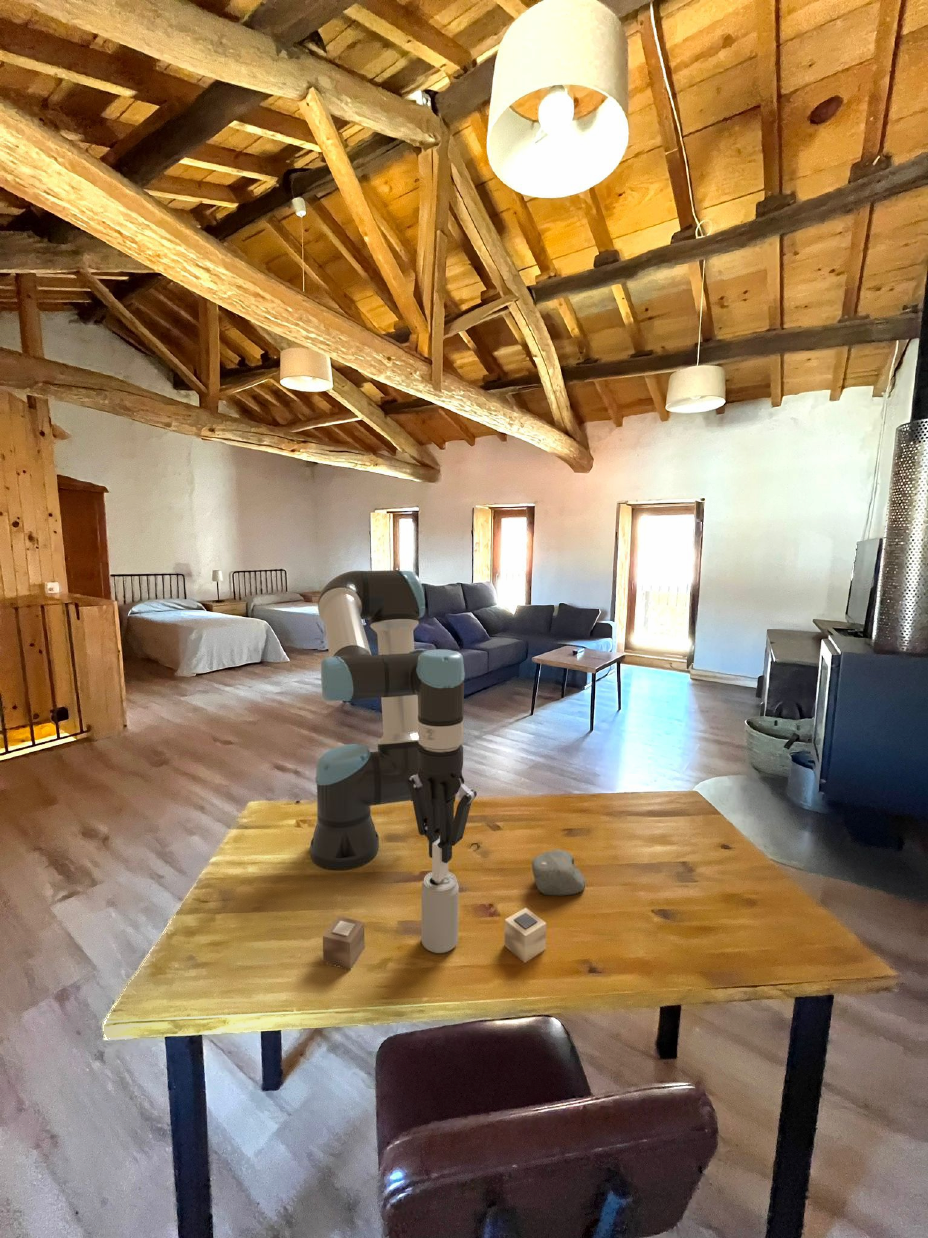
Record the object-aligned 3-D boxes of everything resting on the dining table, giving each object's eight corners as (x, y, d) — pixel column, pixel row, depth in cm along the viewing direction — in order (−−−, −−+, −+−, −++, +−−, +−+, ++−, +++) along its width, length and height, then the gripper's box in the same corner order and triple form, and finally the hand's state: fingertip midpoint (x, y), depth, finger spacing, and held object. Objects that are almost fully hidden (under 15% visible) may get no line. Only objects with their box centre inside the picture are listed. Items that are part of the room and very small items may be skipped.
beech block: (504, 946, 94) (505, 918, 93) (525, 933, 97) (525, 906, 96) (524, 963, 90) (525, 935, 89) (545, 949, 93) (546, 922, 92)
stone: (592, 900, 106) (570, 858, 105) (551, 919, 106) (529, 877, 105) (583, 873, 115) (562, 833, 113) (545, 890, 115) (524, 851, 114)
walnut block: (323, 963, 89) (322, 935, 89) (338, 942, 94) (338, 915, 93) (350, 970, 88) (350, 941, 87) (364, 948, 93) (364, 921, 92)
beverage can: (421, 930, 97) (421, 869, 95) (456, 929, 98) (457, 867, 96) (421, 957, 91) (421, 892, 89) (459, 955, 91) (460, 890, 90)
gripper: (395, 743, 89) (396, 875, 92) (462, 760, 82) (461, 902, 86) (421, 730, 96) (422, 854, 99) (486, 745, 89) (484, 878, 92)
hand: (440, 876), depth 92 cm, fingers closed
